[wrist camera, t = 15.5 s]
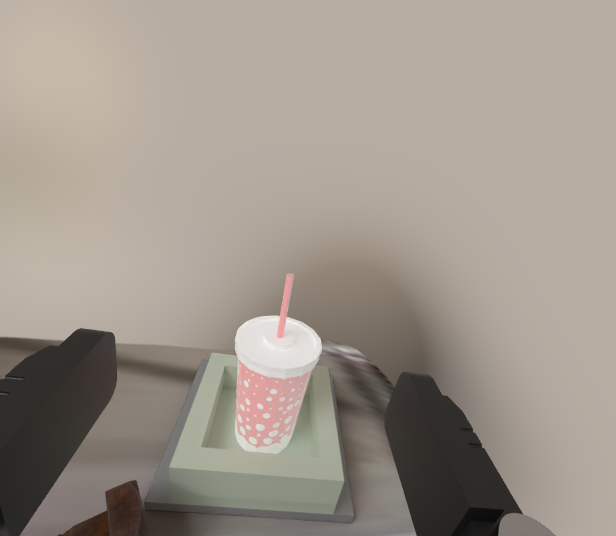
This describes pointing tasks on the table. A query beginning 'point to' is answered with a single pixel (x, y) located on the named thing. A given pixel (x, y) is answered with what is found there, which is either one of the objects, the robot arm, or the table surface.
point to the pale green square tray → (253, 456)
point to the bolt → (116, 515)
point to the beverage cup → (272, 377)
